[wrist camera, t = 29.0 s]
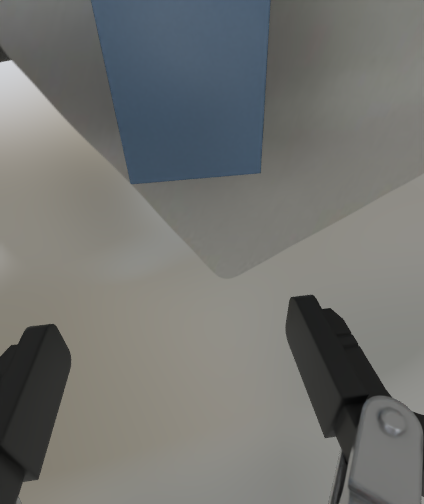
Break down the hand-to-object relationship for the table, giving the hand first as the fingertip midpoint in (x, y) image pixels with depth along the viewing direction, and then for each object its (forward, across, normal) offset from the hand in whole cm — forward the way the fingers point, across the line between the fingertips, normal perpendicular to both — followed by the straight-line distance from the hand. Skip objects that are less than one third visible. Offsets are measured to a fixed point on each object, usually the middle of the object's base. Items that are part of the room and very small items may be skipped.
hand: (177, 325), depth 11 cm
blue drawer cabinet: (+30, -2, -4) cm, 30 cm away
